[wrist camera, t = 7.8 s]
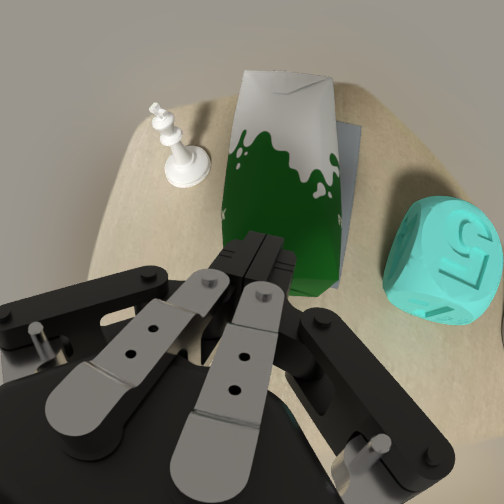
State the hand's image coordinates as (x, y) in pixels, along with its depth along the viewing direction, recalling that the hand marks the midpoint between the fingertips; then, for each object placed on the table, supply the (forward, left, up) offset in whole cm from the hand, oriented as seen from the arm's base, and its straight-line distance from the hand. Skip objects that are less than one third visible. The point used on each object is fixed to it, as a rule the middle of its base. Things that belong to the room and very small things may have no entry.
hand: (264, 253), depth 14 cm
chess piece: (+12, -11, -14) cm, 22 cm away
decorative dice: (-13, -5, -14) cm, 20 cm away
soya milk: (0, 0, -9) cm, 9 cm away
